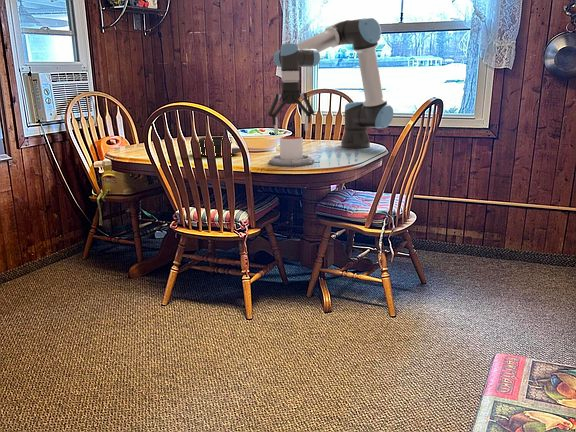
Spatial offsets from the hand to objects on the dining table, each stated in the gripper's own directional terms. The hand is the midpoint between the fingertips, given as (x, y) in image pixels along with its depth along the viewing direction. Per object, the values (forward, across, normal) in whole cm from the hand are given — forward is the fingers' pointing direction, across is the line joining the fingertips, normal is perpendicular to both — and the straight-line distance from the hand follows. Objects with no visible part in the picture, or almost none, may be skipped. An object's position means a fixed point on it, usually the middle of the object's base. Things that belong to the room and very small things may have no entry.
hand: (291, 131), depth 239 cm
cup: (+13, 0, 0) cm, 13 cm away
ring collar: (+14, 0, 0) cm, 14 cm away
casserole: (+14, +29, -35) cm, 48 cm away
